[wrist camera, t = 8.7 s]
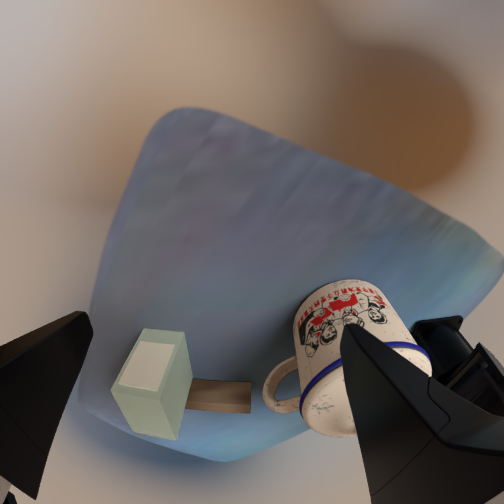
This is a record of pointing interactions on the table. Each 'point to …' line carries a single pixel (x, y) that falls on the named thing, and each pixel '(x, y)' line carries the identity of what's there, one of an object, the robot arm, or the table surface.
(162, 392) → the sage tin
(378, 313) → the teacup with lid
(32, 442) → the robot arm
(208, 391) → the wooden block
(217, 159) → the table surface
